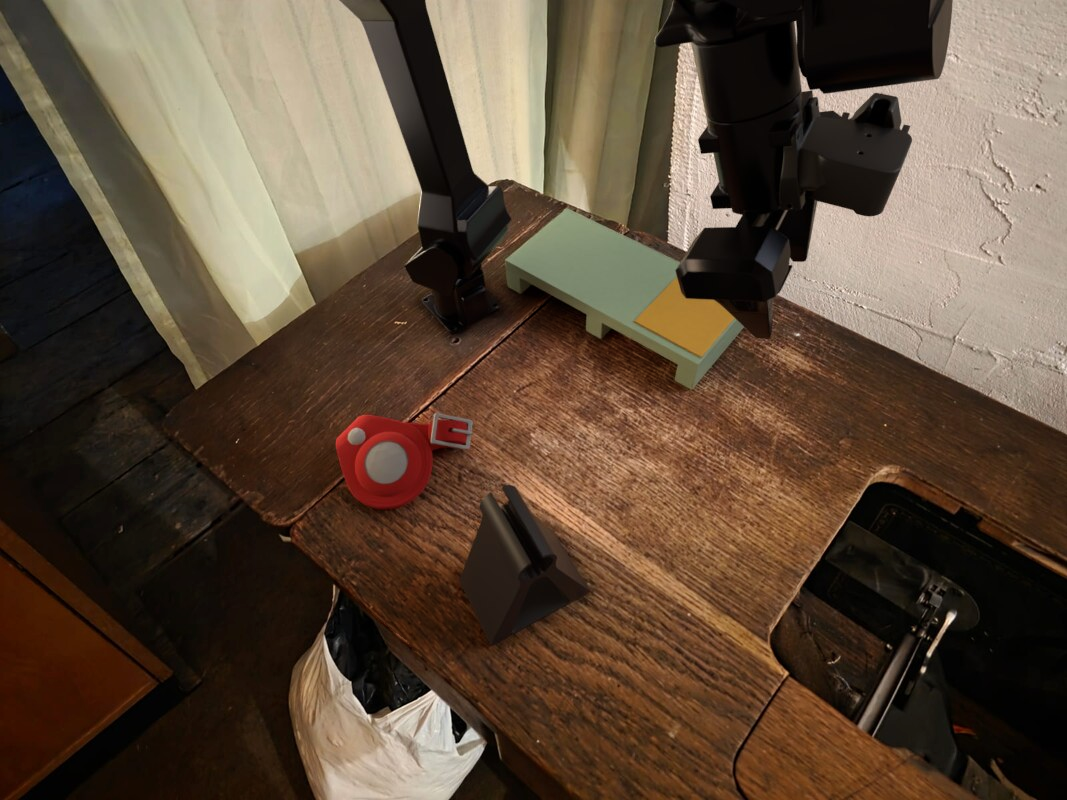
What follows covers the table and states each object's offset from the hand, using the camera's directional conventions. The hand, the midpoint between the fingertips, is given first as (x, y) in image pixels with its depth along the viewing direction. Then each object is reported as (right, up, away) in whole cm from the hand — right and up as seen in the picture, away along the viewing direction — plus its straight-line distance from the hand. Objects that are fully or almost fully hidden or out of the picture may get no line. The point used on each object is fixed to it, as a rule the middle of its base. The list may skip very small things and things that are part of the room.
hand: (782, 297), depth 51 cm
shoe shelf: (-9, +2, +22) cm, 24 cm away
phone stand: (-20, -23, +4) cm, 31 cm away
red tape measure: (-31, -14, +11) cm, 36 cm away
